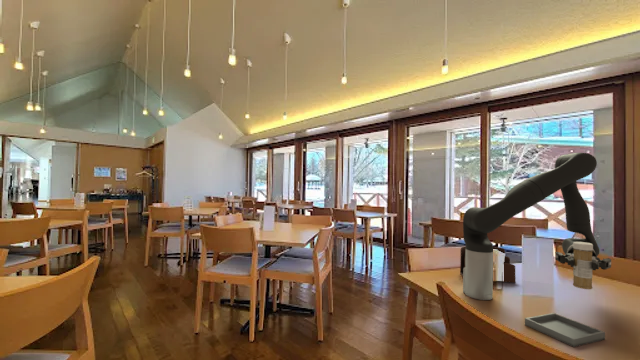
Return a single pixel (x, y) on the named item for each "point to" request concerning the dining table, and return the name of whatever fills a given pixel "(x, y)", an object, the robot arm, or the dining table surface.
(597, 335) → the condiment tray
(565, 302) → the dining table surface
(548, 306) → the dining table surface
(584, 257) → the sprinkles bottle
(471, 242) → the robot arm
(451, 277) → the dining table surface
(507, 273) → the letter holder
